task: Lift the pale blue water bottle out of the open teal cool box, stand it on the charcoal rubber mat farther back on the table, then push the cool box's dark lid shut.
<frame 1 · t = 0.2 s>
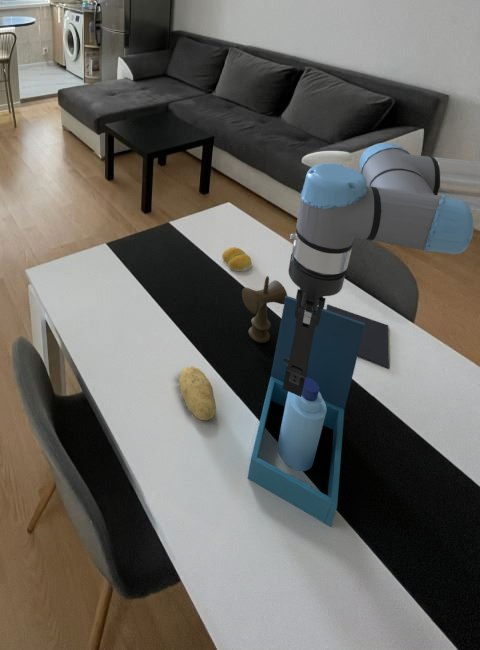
hand: (298, 358, 73), 29 cm above the table, tool pointing down, fingers open, 13 cm apart
cooler lid: (314, 351, 87), point 18 cm above the table, hinge at 100.0°
water bottle: (294, 455, 84), point 1 cm above the table, touching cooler
mat: (355, 334, 110), on the table
bread roll: (236, 263, 137), on the table
kendama: (258, 336, 111), on the table
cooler: (293, 458, 85), on the table
potato: (197, 403, 96), on the table
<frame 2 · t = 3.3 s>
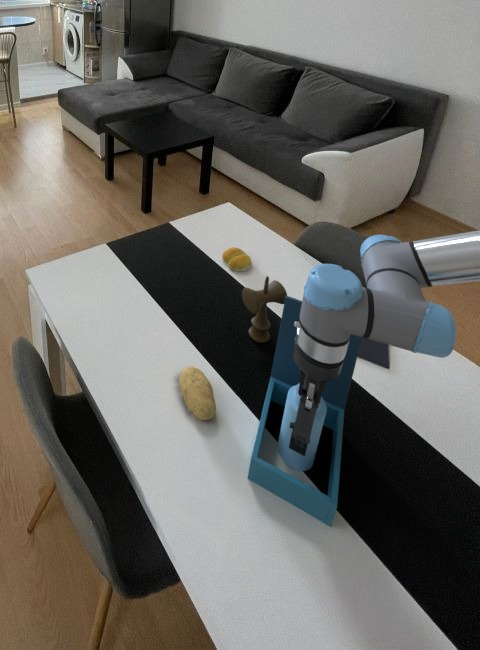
hand: (299, 432, 82), 8 cm above the table, tool pointing down, fingers closed on water bottle, 6 cm apart
water bottle: (294, 455, 84), point 1 cm above the table, touching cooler, gripper
everything else where it was.
when the fingers open (7 cm above the table, at t = 12.7 s): water bottle stays where it is, resting on mat.
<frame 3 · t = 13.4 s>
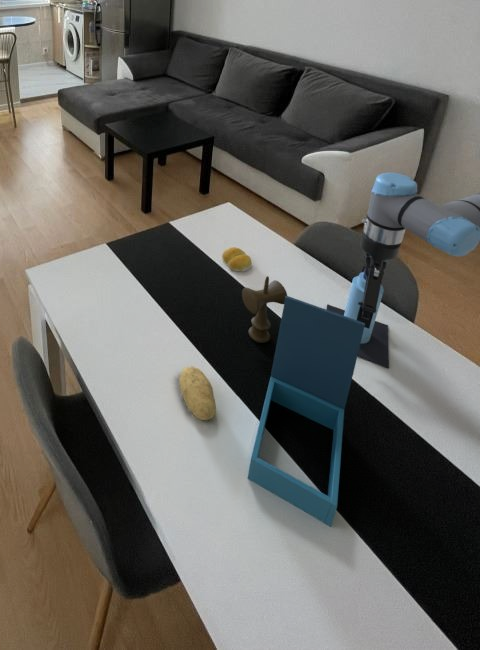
hand: (363, 306, 106), 10 cm above the table, tool pointing down, fingers open, 13 cm apart
water bottle: (355, 332, 110), resting on mat
everything else where it was.
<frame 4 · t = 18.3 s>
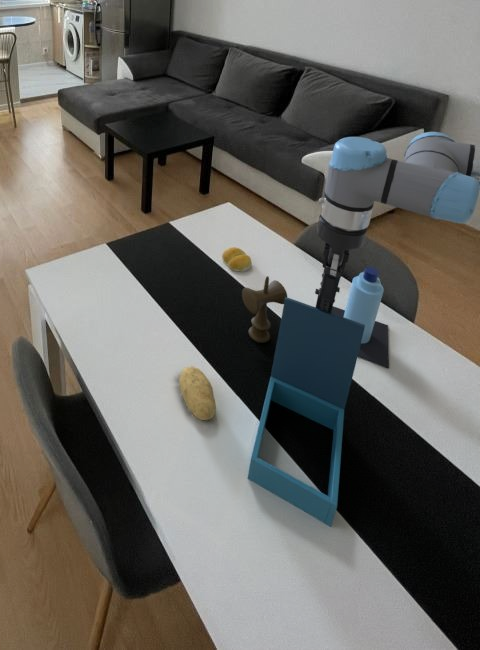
hand: (321, 317, 86), 25 cm above the table, tool pointing down, fingers closed
cooler lid: (314, 352, 86), point 18 cm above the table, hinge at 98.4°
everything else where it was.
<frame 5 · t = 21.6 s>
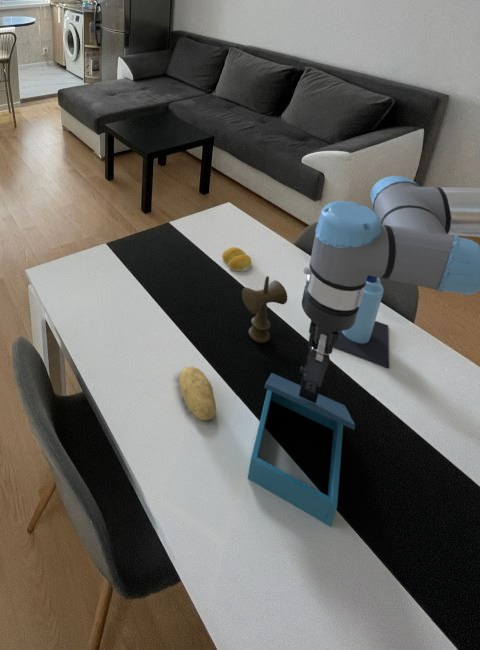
hand: (307, 396, 75), 21 cm above the table, tool pointing down, fingers closed
cooler lid: (307, 397, 81), point 15 cm above the table, hinge at 43.6°, touching gripper
everything else where it was.
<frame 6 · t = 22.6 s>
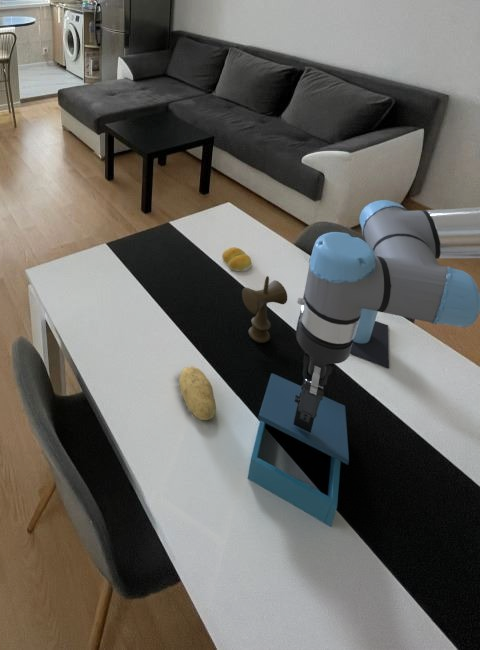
hand: (302, 424, 75), 17 cm above the table, tool pointing down, fingers closed
cooler lid: (304, 412, 81), point 13 cm above the table, hinge at 27.8°
everything else where it was.
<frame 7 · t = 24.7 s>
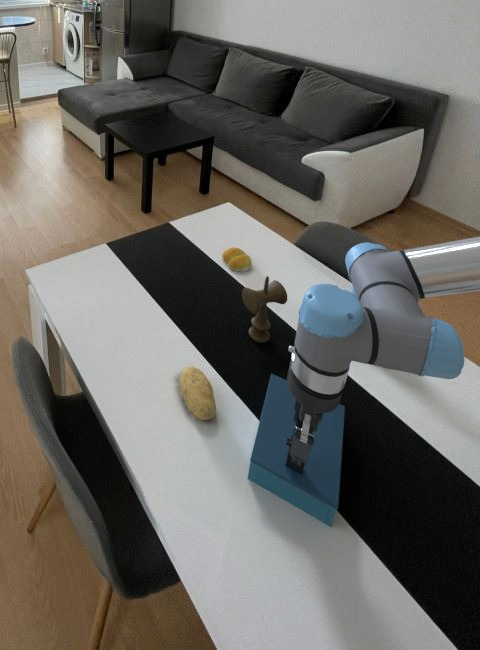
hand: (294, 466, 76), 9 cm above the table, tool pointing down, fingers closed
cooler lid: (299, 432, 81), point 9 cm above the table, hinge at 1.1°, touching gripper
everything else where it was.
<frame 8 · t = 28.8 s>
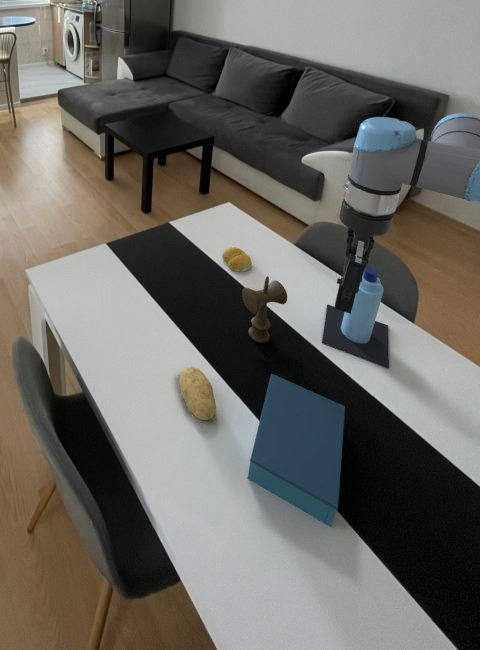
hand: (342, 308, 82), 29 cm above the table, tool pointing down, fingers closed
cooler lid: (299, 432, 81), point 8 cm above the table, hinge at 0.7°
everything else where it was.
at the end: water bottle inside the target area on the mat (0.1 cm from its centre), point 0.5 cm above the mat's base; water bottle tilted 0°; cooler lid at +1° (first picture: +100°) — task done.
